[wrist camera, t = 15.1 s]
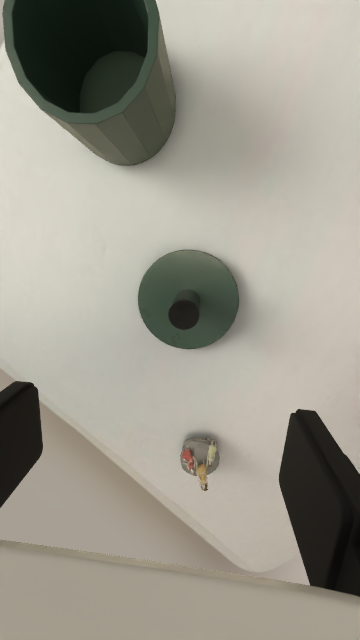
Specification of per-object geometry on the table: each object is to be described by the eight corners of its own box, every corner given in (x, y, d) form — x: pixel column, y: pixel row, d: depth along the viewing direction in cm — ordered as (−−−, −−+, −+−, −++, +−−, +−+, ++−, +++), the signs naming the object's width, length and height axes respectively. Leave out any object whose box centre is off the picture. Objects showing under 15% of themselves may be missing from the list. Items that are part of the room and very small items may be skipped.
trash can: (77, 162, 27) (10, 120, 18) (73, 45, 24) (-6, -75, 15) (172, 168, 26) (154, 126, 17) (178, 48, 24) (162, -76, 15)
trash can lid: (138, 341, 31) (121, 365, 25) (141, 246, 28) (123, 246, 22) (231, 349, 30) (238, 377, 24) (243, 253, 28) (255, 256, 21)
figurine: (199, 469, 35) (198, 514, 29) (172, 448, 34) (165, 489, 28) (228, 443, 33) (233, 484, 28) (200, 421, 33) (199, 458, 27)
